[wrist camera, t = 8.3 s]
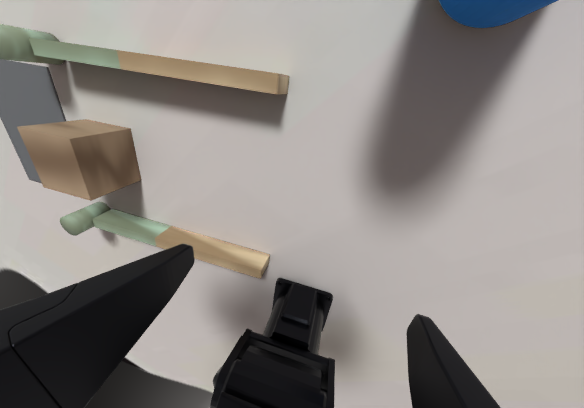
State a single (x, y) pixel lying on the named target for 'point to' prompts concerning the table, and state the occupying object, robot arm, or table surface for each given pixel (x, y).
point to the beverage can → (490, 11)
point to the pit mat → (27, 104)
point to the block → (82, 156)
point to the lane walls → (49, 50)
